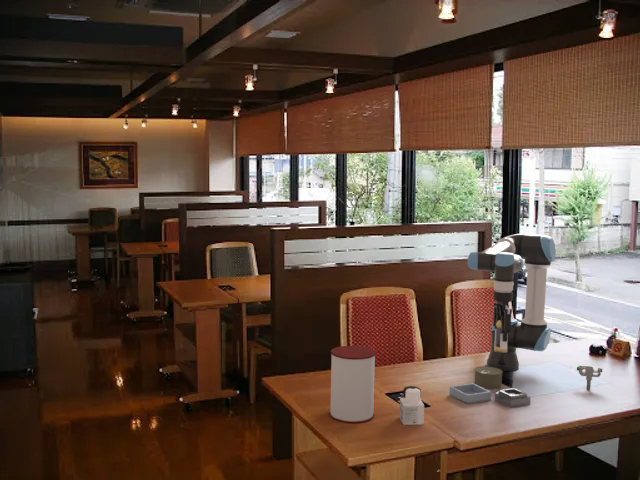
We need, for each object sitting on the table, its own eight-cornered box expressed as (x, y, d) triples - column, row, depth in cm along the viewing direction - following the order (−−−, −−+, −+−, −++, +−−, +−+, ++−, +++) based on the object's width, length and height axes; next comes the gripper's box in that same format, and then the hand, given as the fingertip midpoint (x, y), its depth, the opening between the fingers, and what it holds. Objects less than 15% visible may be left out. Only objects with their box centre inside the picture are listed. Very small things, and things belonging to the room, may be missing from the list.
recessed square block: (494, 399, 283) (495, 389, 283) (513, 396, 287) (514, 386, 287) (510, 407, 274) (511, 397, 274) (530, 404, 278) (530, 394, 278)
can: (506, 385, 302) (507, 370, 301) (493, 391, 293) (494, 376, 293) (482, 379, 310) (483, 364, 309) (468, 385, 301) (469, 370, 301)
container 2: (399, 417, 261) (400, 384, 260) (419, 417, 262) (420, 384, 261) (403, 425, 254) (404, 391, 252) (423, 424, 254) (424, 390, 253)
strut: (496, 352, 277) (498, 320, 275) (492, 349, 282) (493, 318, 281) (509, 352, 278) (510, 320, 276) (504, 349, 283) (505, 317, 281)
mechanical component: (601, 391, 296) (602, 369, 295) (576, 389, 298) (577, 367, 297) (600, 389, 299) (601, 367, 298) (575, 387, 301) (576, 365, 300)
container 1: (381, 421, 257) (382, 356, 254) (337, 425, 252) (338, 359, 250) (365, 405, 274) (366, 344, 271) (323, 409, 269) (325, 347, 266)
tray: (449, 394, 288) (449, 386, 288) (472, 391, 293) (473, 383, 293) (467, 404, 277) (467, 395, 277) (490, 400, 282) (491, 391, 282)
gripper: (521, 295, 268) (518, 352, 271) (503, 286, 286) (501, 341, 289) (503, 295, 268) (500, 353, 270) (486, 286, 286) (484, 341, 288)
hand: (500, 346), depth 280 cm, fingers closed on strut, 5 cm apart
